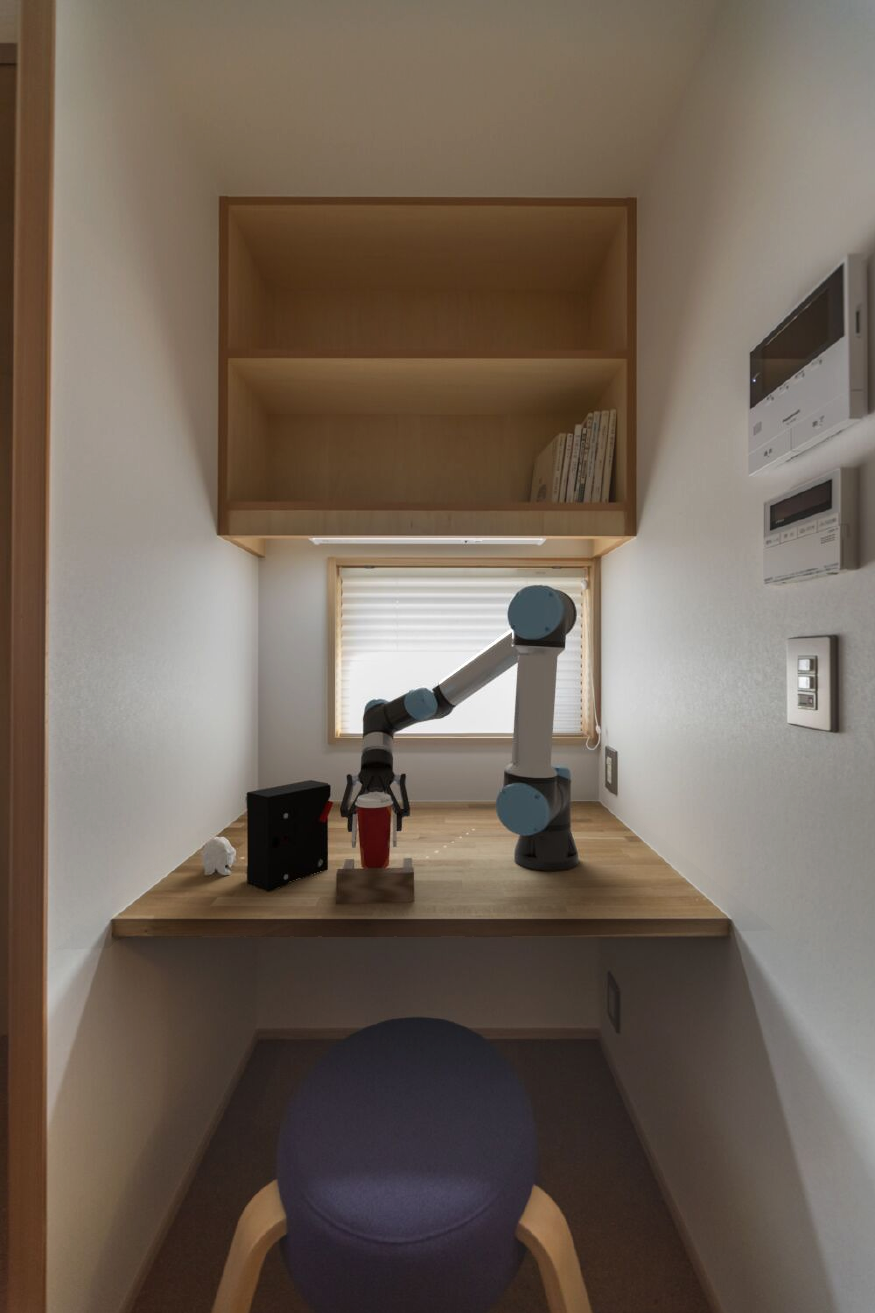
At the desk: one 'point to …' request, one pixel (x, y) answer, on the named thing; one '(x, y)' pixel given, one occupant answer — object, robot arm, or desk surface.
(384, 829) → the coffee cup
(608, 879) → the desk surface
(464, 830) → the desk surface
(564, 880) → the desk surface
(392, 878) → the guide channel
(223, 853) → the white figurine
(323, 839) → the electrical component
